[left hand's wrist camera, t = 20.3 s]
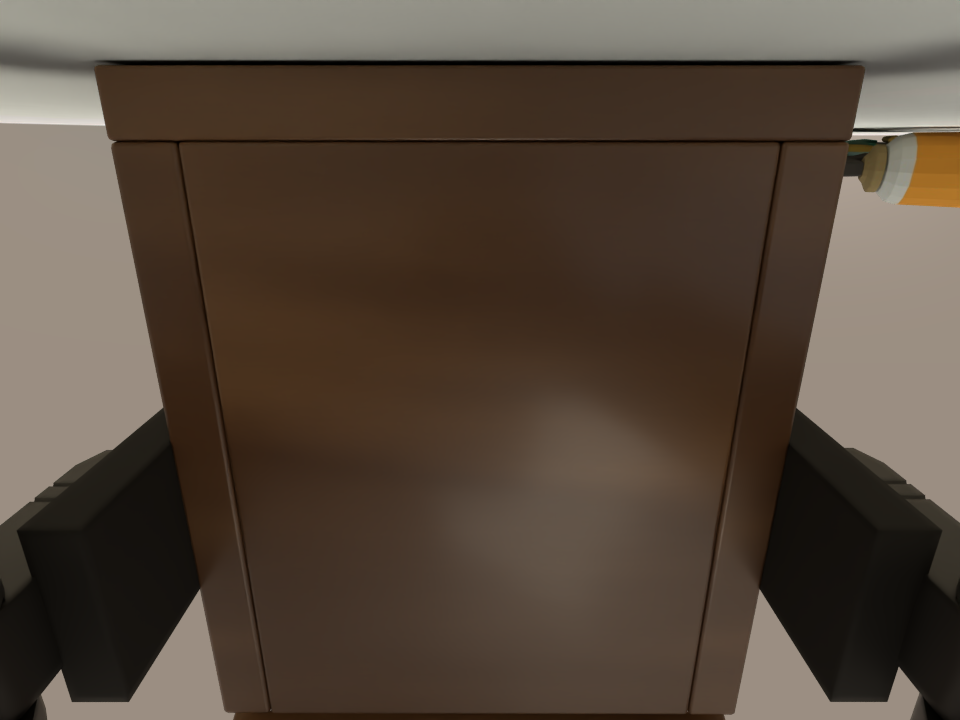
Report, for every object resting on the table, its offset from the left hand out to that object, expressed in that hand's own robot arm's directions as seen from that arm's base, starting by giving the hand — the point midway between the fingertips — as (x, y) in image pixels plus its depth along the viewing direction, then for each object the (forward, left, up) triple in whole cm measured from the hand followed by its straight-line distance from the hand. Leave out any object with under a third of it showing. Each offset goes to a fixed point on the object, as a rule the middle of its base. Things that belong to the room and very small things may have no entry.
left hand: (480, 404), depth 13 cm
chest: (+4, -2, -6) cm, 8 cm away
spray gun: (+40, +9, -6) cm, 42 cm away
